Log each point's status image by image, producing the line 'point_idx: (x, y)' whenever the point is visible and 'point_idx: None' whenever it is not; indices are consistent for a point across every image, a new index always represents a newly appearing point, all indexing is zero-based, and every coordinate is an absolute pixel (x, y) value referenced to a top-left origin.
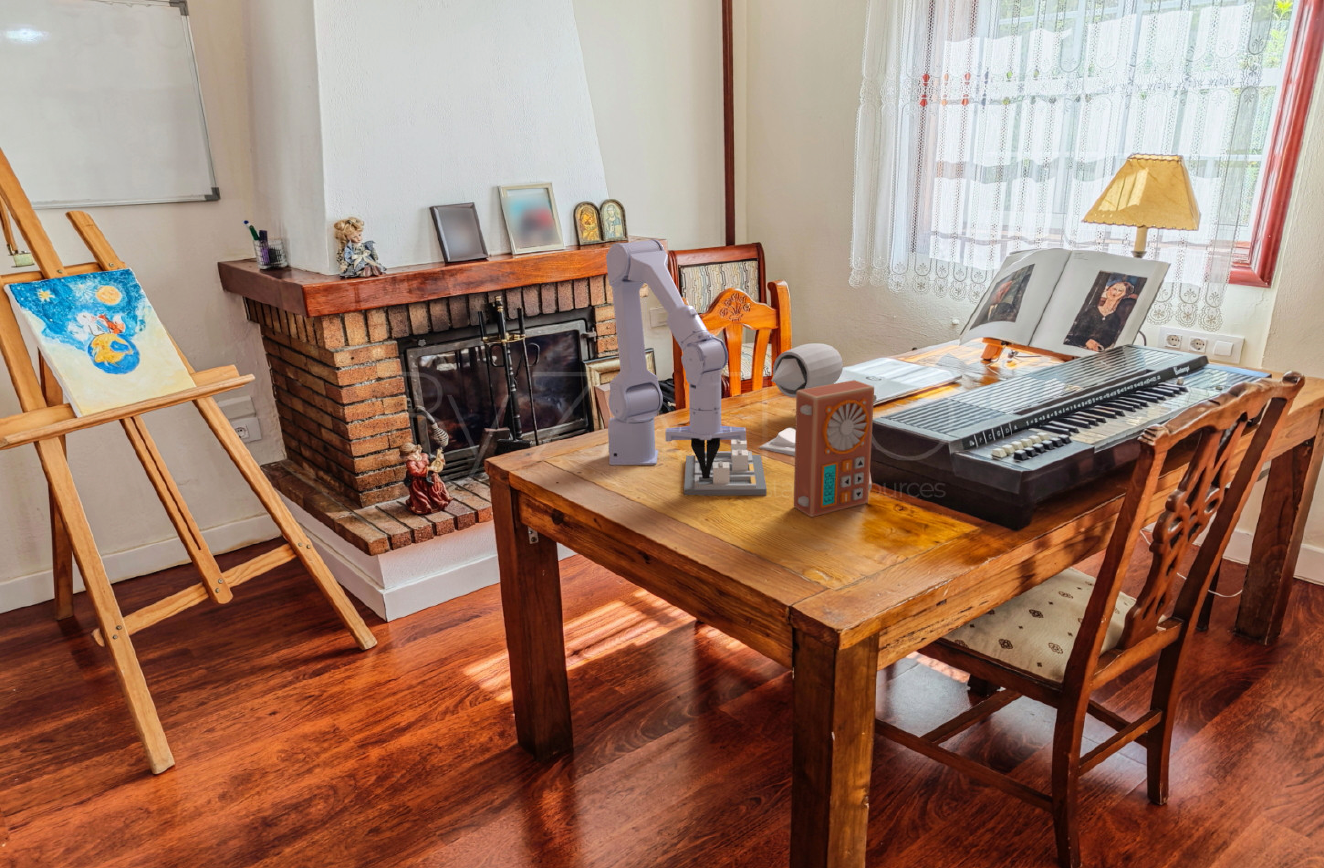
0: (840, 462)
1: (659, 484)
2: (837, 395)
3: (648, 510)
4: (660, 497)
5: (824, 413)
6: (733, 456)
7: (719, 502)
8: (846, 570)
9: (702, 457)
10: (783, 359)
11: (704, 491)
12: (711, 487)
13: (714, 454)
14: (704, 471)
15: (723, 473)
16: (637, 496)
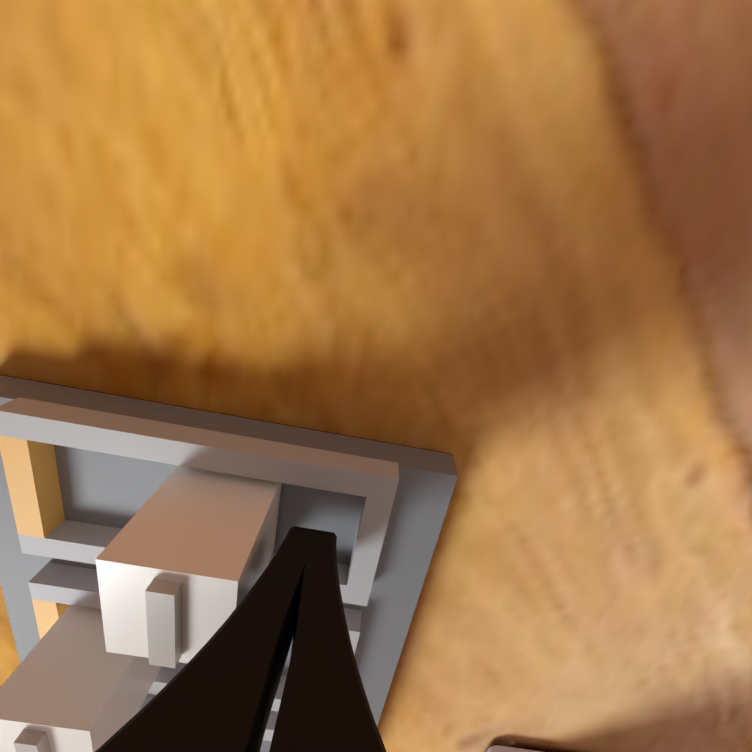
0: None
1: (533, 592)
2: None
3: (723, 295)
4: (582, 457)
5: None
6: (87, 720)
7: (270, 328)
8: None
9: (308, 703)
10: None
11: (340, 447)
12: (294, 453)
13: (142, 727)
14: (315, 567)
15: (175, 529)
16: (693, 491)
